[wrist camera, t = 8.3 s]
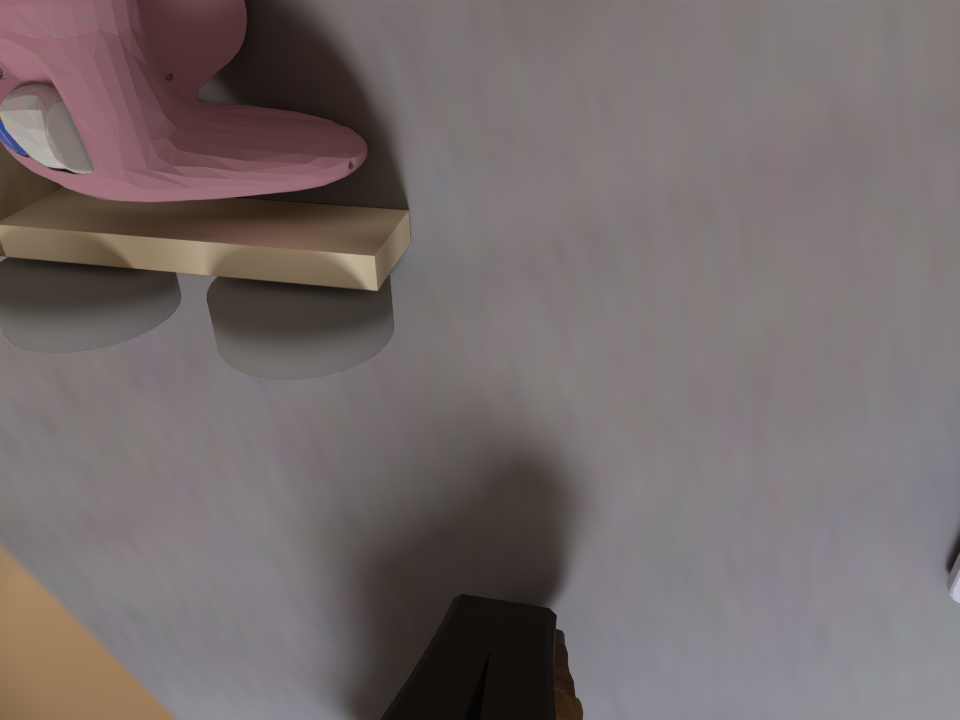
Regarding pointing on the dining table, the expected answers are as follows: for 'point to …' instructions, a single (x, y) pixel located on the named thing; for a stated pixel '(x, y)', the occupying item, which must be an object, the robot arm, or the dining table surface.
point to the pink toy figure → (150, 105)
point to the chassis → (198, 250)
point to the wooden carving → (564, 684)
